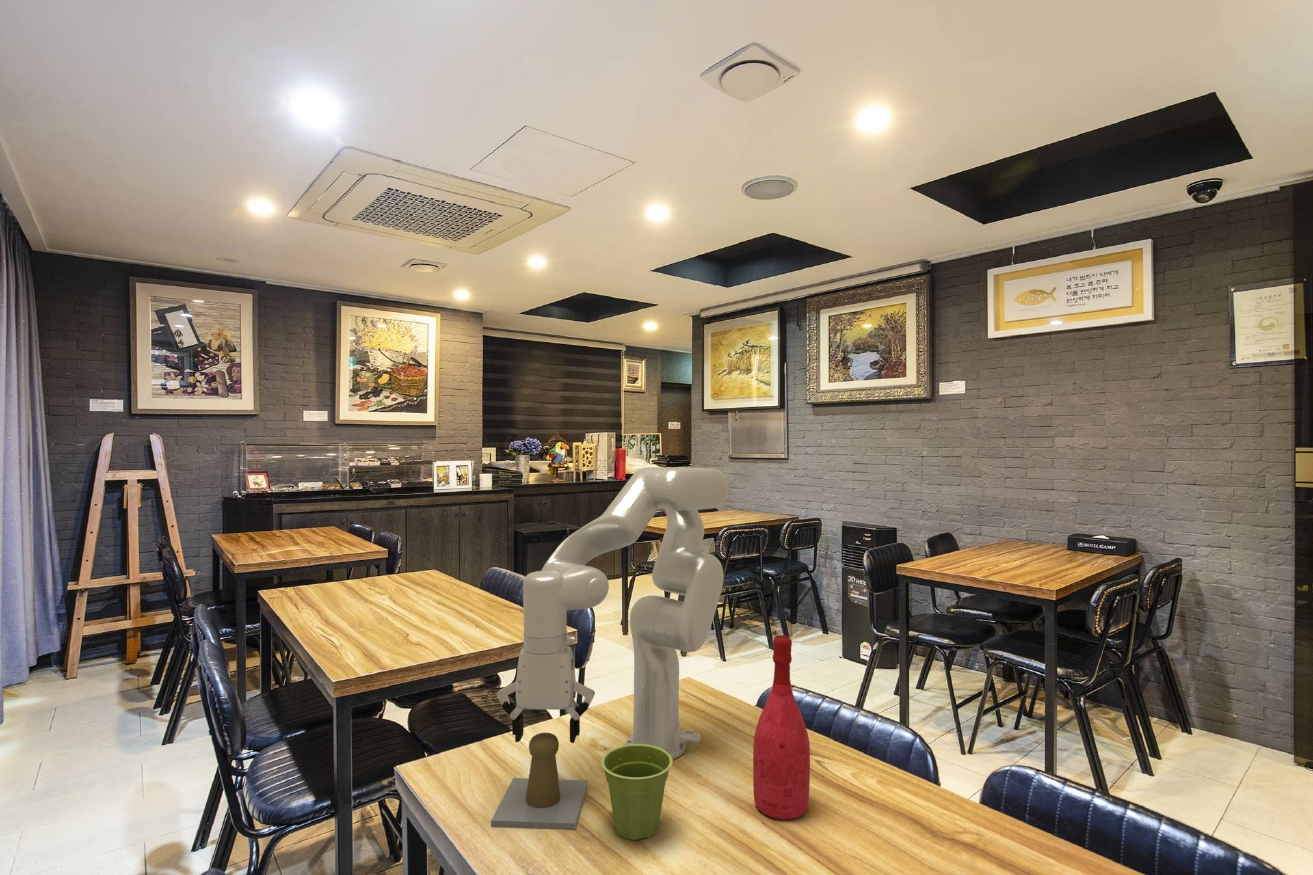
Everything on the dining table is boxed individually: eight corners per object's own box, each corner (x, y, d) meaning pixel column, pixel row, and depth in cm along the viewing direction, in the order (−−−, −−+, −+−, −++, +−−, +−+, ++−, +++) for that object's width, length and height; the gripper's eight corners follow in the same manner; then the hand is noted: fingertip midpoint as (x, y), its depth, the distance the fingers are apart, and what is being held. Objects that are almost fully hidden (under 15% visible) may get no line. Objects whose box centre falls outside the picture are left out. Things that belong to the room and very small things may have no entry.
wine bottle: (812, 798, 117) (813, 631, 118) (806, 827, 108) (807, 646, 109) (758, 788, 120) (759, 626, 121) (747, 816, 111) (749, 640, 112)
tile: (587, 785, 121) (587, 780, 121) (575, 829, 107) (575, 823, 107) (513, 783, 121) (513, 777, 121) (490, 826, 107) (491, 820, 107)
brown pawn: (553, 809, 111) (554, 744, 111) (520, 805, 112) (521, 741, 112) (565, 791, 116) (566, 729, 117) (533, 787, 118) (534, 726, 118)
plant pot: (604, 807, 113) (605, 742, 114) (672, 809, 113) (672, 744, 113) (595, 849, 101) (596, 776, 102) (671, 851, 101) (672, 778, 101)
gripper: (596, 635, 118) (597, 729, 118) (502, 635, 119) (503, 728, 119) (591, 649, 110) (592, 749, 111) (490, 649, 111) (491, 748, 111)
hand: (546, 738), depth 115 cm, fingers open, 9 cm apart
